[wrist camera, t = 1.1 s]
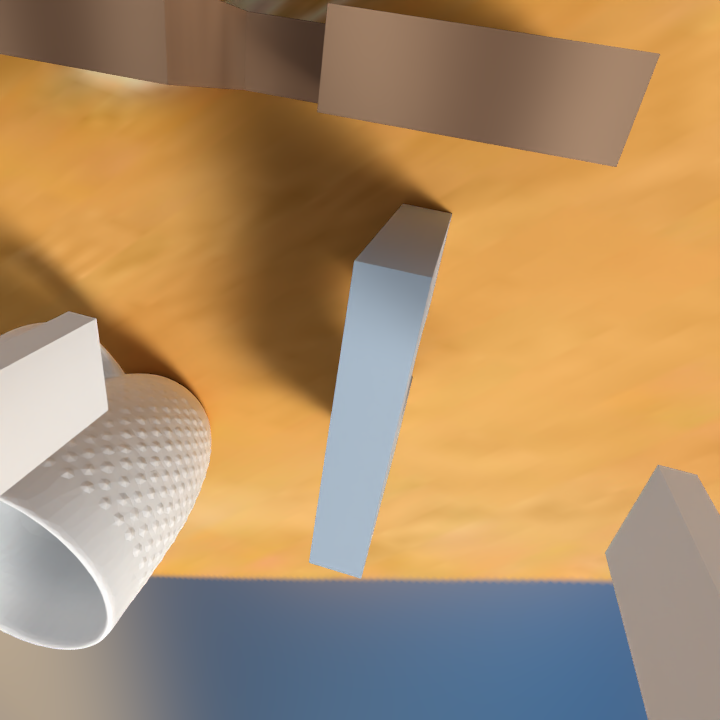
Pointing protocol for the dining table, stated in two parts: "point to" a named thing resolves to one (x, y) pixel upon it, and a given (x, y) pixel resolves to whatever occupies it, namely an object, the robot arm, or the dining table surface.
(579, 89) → the walnut slot plate
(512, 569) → the dining table surface
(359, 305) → the pale blue flat slat
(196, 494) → the mug
